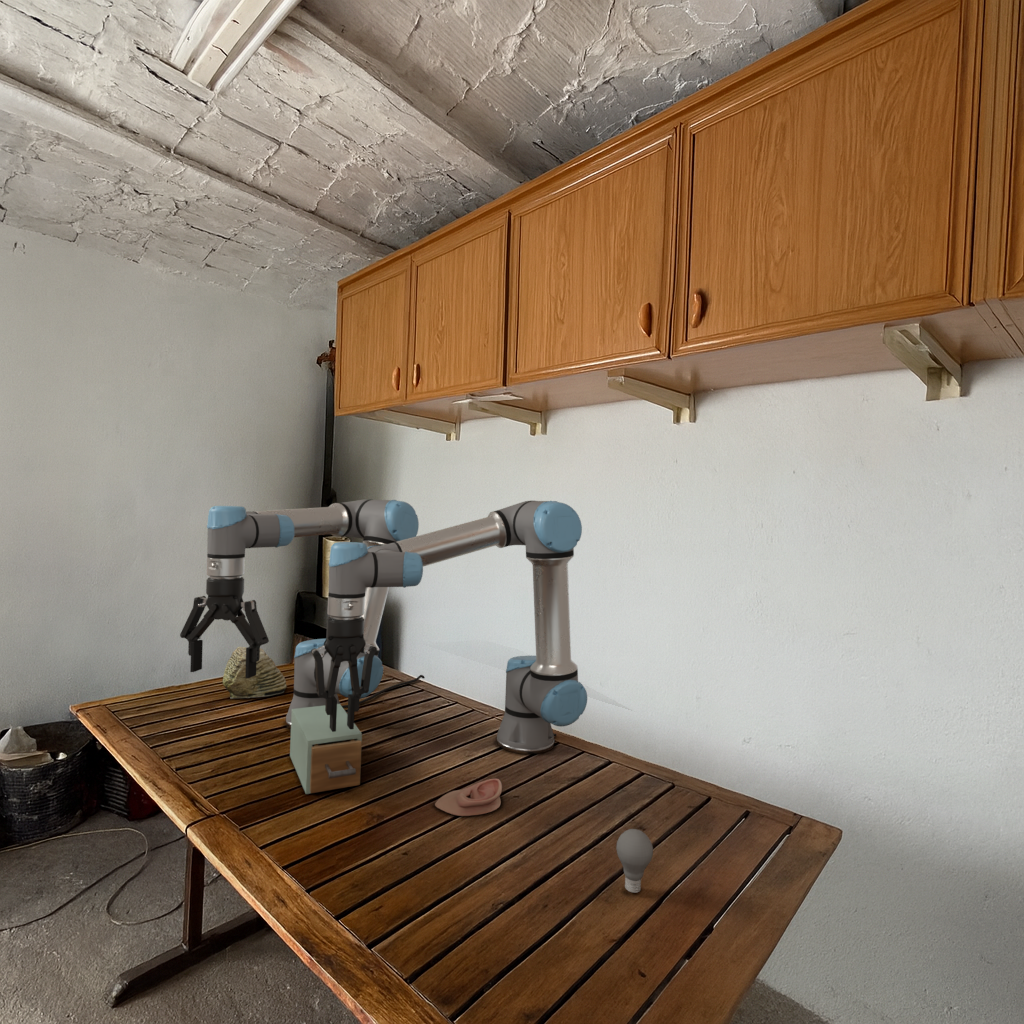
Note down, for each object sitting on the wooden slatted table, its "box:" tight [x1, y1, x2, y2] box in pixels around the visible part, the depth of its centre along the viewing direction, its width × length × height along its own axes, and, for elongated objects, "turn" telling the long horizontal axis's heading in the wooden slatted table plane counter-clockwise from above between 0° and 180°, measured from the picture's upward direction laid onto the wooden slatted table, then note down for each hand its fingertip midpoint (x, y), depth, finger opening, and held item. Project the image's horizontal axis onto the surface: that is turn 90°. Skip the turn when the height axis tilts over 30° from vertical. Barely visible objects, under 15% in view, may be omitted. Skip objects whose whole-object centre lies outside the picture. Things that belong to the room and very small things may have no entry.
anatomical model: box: [434, 778, 503, 817], centre depth 133 cm, size 13×4×12 cm
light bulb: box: [615, 828, 654, 894], centre depth 106 cm, size 6×6×10 cm
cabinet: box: [289, 703, 363, 795], centre depth 147 cm, size 22×12×12 cm, turn 28°
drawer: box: [310, 739, 363, 794], centre depth 142 cm, size 26×10×10 cm, turn 28°
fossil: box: [222, 646, 288, 699], centre depth 198 cm, size 9×18×15 cm, turn 132°
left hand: (223, 673), depth 138 cm, fingers open, 13 cm apart
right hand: (341, 727), depth 132 cm, fingers open, 3 cm apart
